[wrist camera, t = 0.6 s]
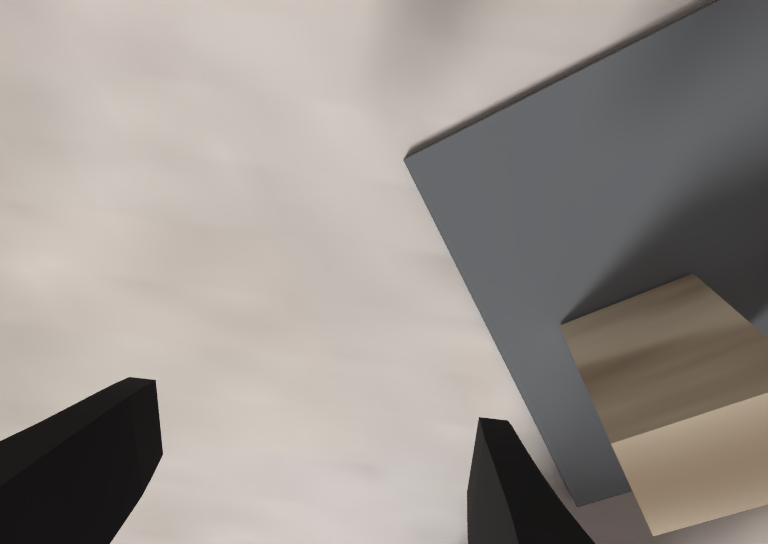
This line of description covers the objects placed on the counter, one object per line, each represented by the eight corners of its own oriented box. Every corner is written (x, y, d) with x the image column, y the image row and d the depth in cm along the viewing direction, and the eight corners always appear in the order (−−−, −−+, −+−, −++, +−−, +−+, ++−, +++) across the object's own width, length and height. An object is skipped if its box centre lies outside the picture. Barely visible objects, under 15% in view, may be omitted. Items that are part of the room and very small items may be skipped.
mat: (988, 373, 21) (999, 379, 20) (575, 500, 25) (577, 507, 24) (902, -94, 16) (913, -97, 15) (404, 157, 20) (403, 160, 19)
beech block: (719, 349, 21) (845, 482, 14) (590, 395, 22) (653, 536, 16) (691, 272, 20) (813, 377, 13) (558, 324, 21) (610, 443, 15)
